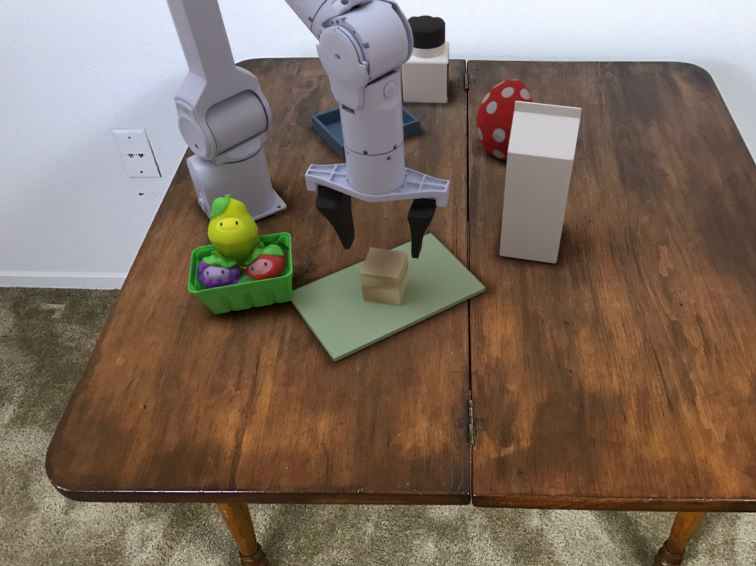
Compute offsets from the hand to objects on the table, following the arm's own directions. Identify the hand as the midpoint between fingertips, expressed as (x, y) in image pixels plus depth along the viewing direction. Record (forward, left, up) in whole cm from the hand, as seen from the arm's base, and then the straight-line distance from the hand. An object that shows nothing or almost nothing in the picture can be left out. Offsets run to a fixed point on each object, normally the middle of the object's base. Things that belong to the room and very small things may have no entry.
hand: (382, 247), depth 75 cm
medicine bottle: (+29, +37, -7) cm, 48 cm away
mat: (0, 0, -7) cm, 7 cm away
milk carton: (+20, -2, -7) cm, 21 cm away
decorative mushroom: (+32, +15, -7) cm, 36 cm away
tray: (+15, +32, -7) cm, 36 cm away
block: (0, 0, -6) cm, 7 cm away
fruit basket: (-13, +9, -7) cm, 17 cm away
